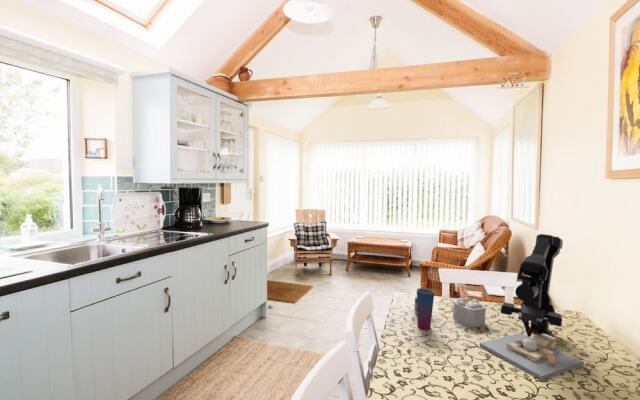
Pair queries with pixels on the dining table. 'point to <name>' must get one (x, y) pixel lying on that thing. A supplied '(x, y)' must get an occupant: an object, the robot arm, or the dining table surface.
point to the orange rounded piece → (551, 360)
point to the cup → (424, 307)
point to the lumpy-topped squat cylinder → (469, 312)
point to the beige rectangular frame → (543, 347)
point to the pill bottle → (415, 304)
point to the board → (533, 367)
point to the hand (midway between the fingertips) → (529, 336)
